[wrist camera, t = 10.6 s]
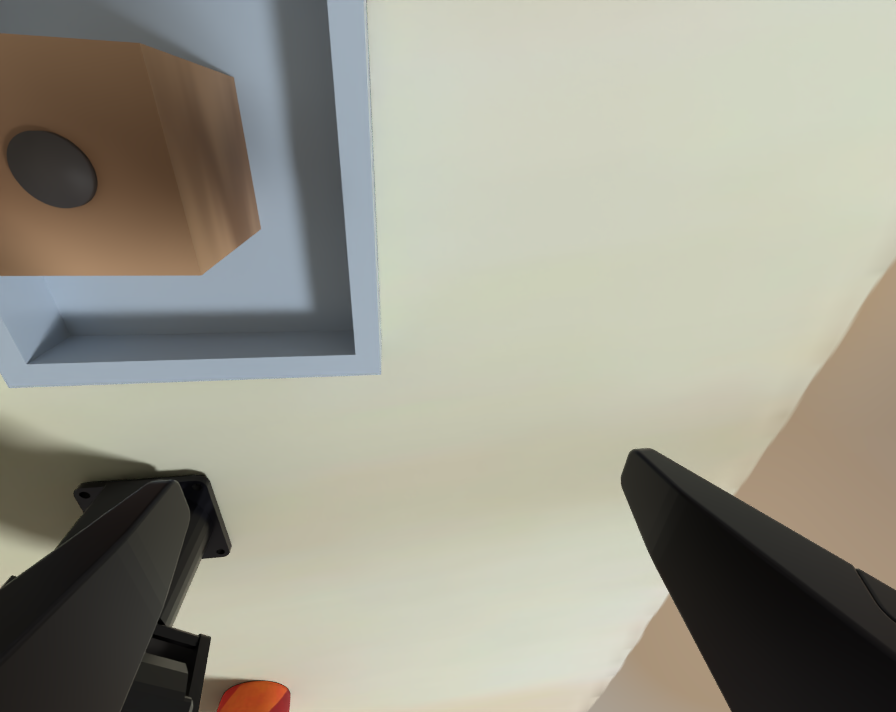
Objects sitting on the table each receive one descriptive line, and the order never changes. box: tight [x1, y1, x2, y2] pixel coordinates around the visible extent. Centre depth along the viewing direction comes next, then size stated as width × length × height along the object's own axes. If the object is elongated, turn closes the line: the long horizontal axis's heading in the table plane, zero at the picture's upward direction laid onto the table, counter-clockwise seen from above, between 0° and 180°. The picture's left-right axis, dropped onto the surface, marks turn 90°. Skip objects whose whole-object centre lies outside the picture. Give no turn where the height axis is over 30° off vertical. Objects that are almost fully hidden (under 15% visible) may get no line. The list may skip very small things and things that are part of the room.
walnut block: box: [0, 33, 261, 276], centre depth 12 cm, size 5×5×6 cm
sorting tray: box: [0, 0, 382, 388], centre depth 14 cm, size 16×14×3 cm
